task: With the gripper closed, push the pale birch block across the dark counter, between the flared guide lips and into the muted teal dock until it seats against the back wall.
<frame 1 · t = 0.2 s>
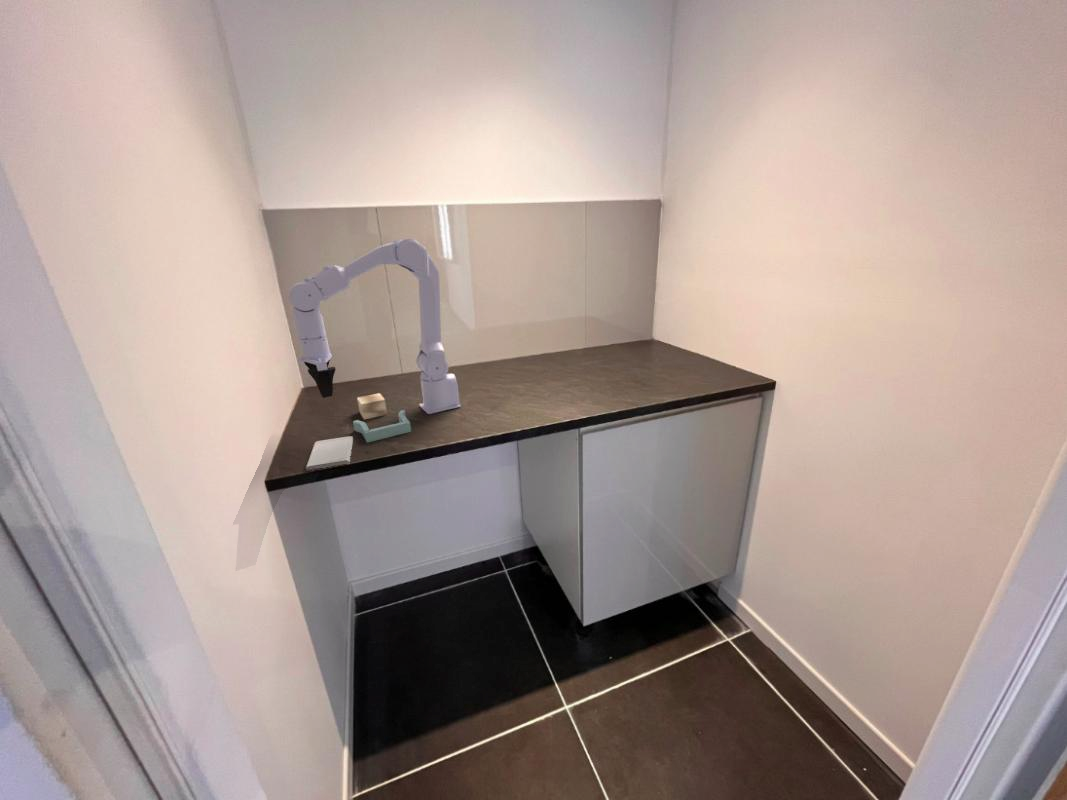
hand: (325, 392, 101), 10 cm above the countertop, tool pointing down, fingers open, 7 cm apart
hard drive: (332, 457, 93), on the countertop
dock: (385, 431, 103), on the countertop
birch block: (373, 413, 114), on the countertop
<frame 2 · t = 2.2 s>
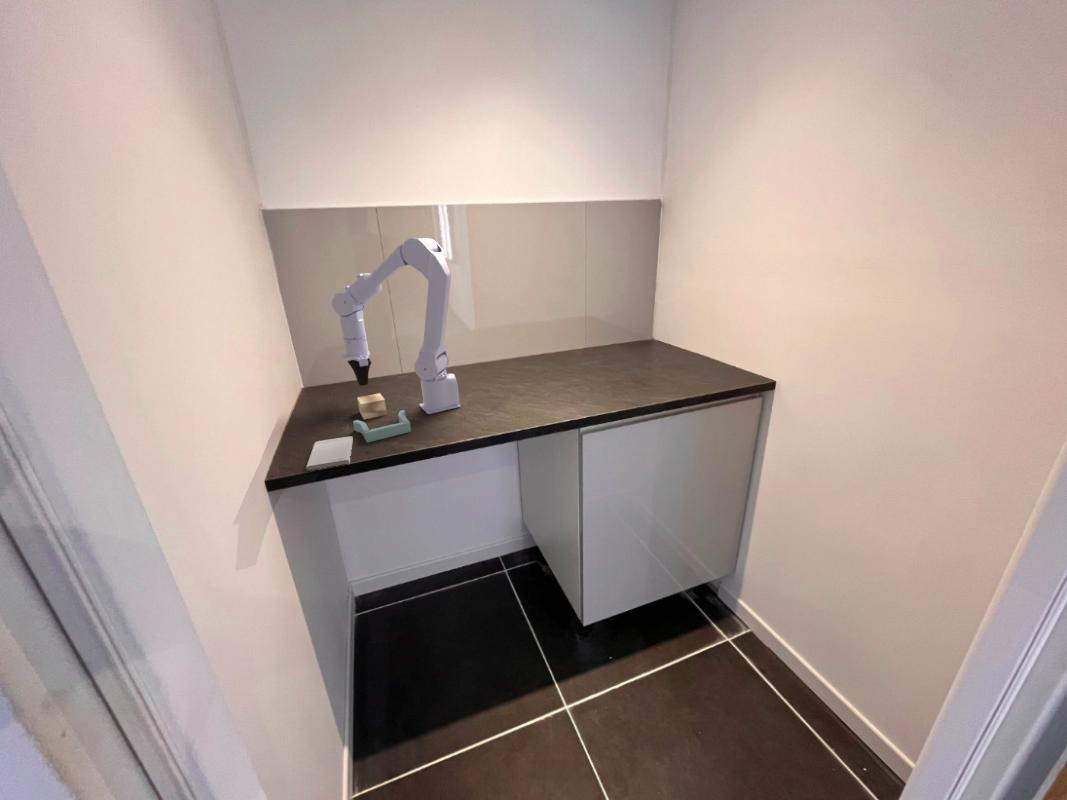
hand: (363, 384, 118), 6 cm above the countertop, tool pointing down, fingers closed
nothing on the countertop moved.
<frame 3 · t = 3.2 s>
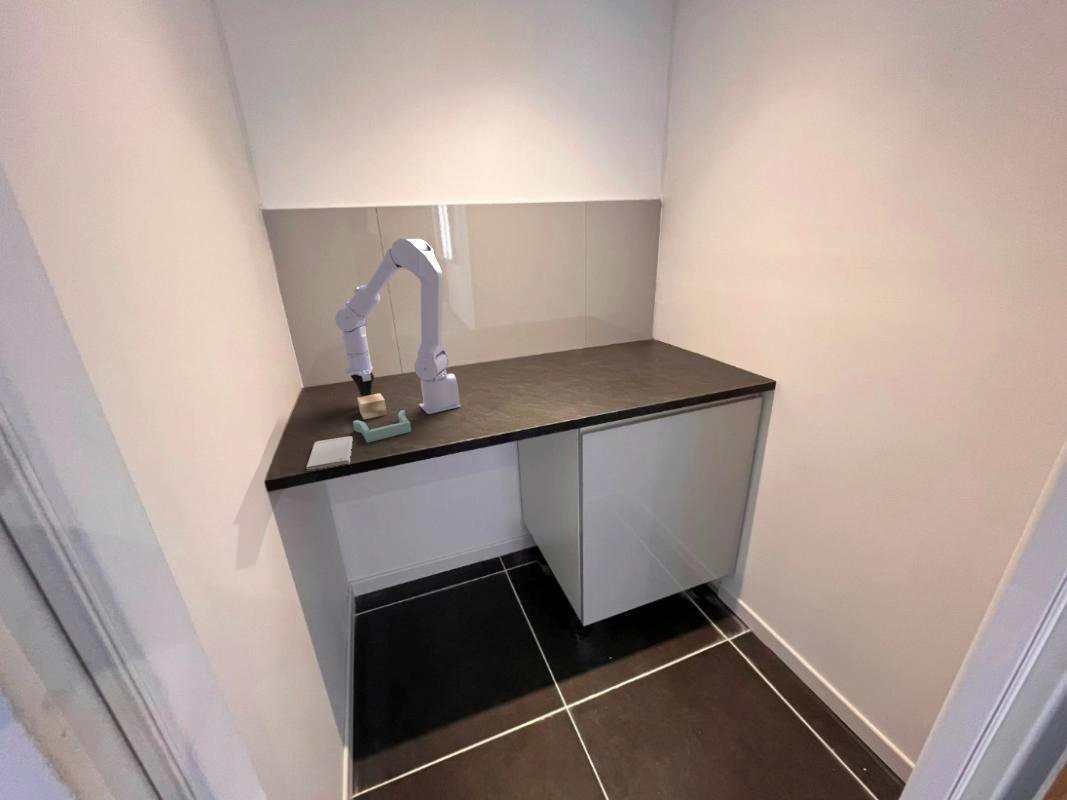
hand: (366, 398, 119), 2 cm above the countertop, tool pointing down, fingers closed
nothing on the countertop moved.
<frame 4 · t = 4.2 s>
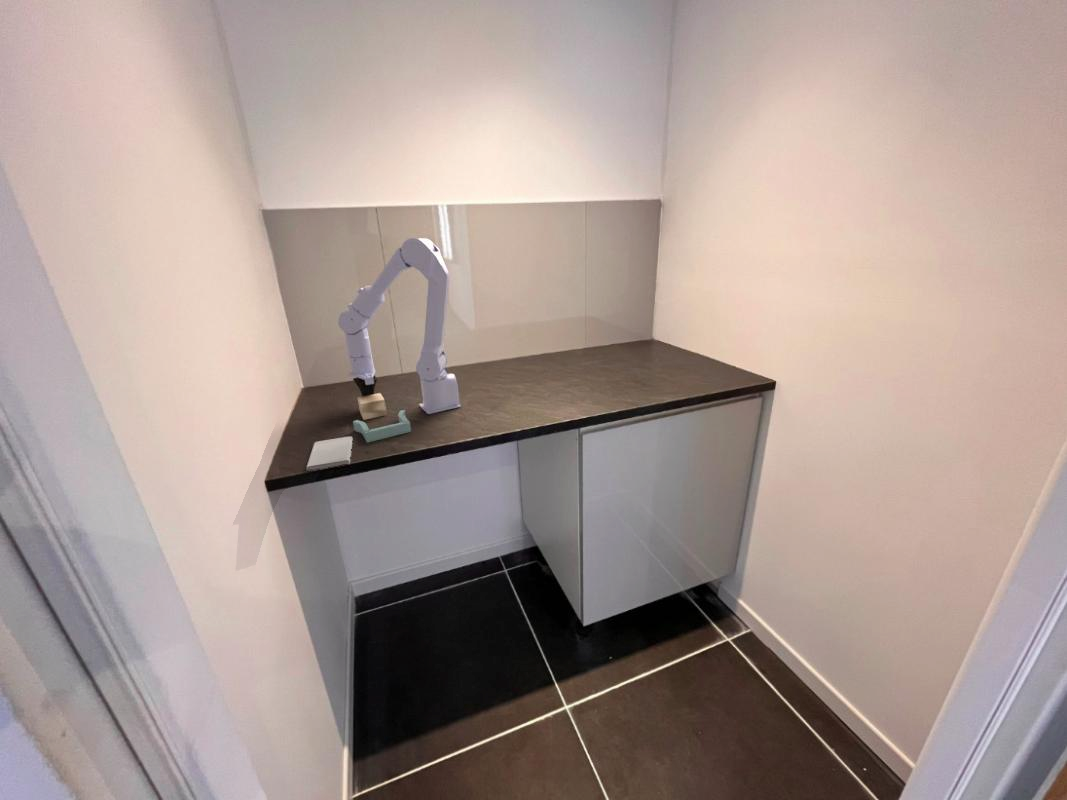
hand: (369, 402, 116), 2 cm above the countertop, tool pointing down, fingers closed
birch block: (373, 413, 114), on the countertop, touching gripper
everything else where it was.
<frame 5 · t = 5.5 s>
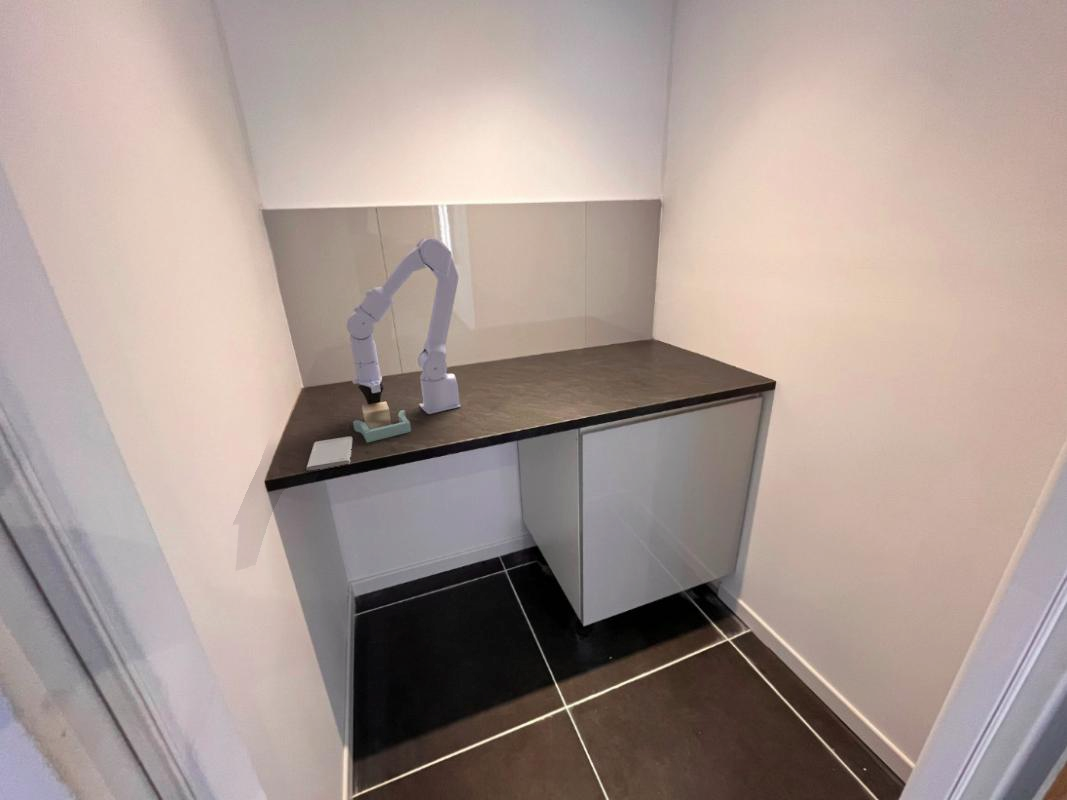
hand: (375, 410, 110), 2 cm above the countertop, tool pointing down, fingers closed
birch block: (378, 423, 107), on the countertop, touching gripper
everything else where it was.
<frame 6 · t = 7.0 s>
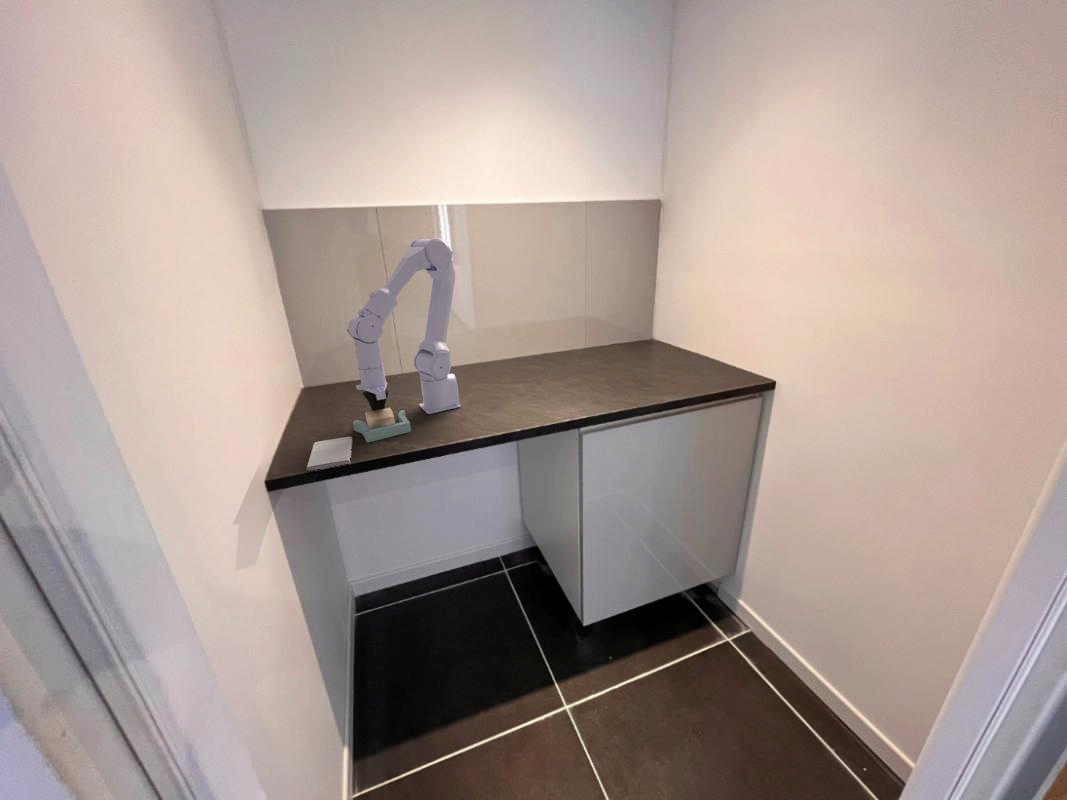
hand: (379, 417, 106), 2 cm above the countertop, tool pointing down, fingers closed
birch block: (382, 430, 103), on the countertop, touching dock, gripper
everything else where it was.
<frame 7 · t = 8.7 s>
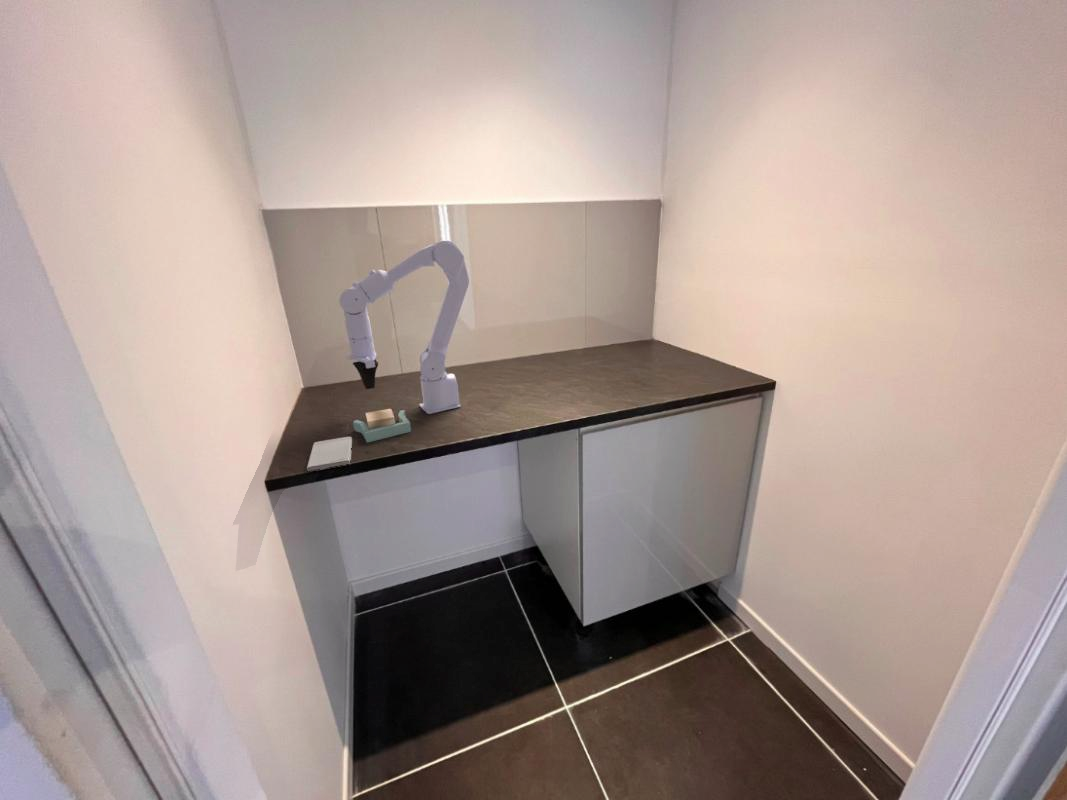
hand: (369, 387, 110), 8 cm above the countertop, tool pointing down, fingers closed
birch block: (382, 431, 103), on the countertop
everything else where it was.
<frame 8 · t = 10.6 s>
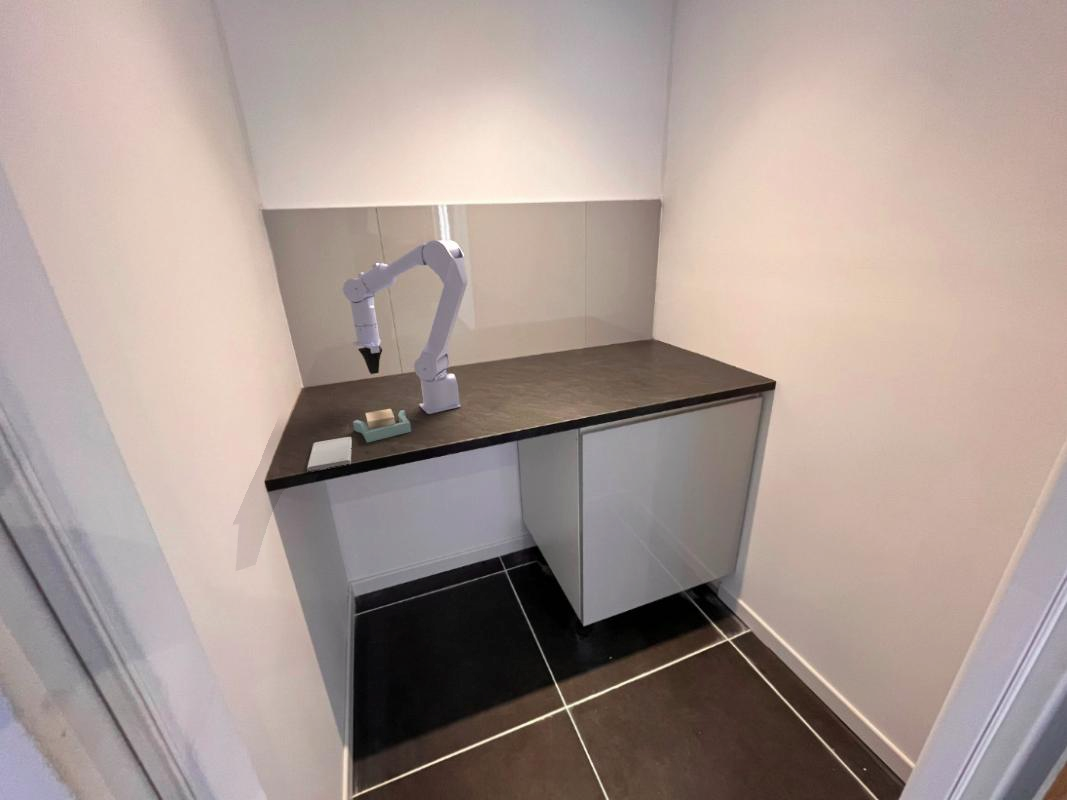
hand: (374, 373, 117), 9 cm above the countertop, tool pointing down, fingers closed
nothing on the countertop moved.
at the end: birch block 0.8 cm off-centre on the dock, point 0.0 cm above the dock's base; birch block tilted 0° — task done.
